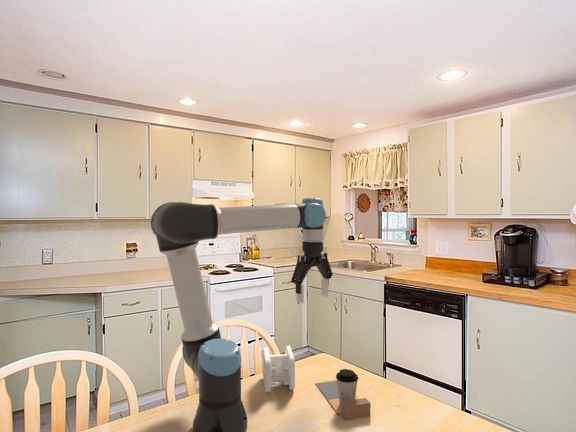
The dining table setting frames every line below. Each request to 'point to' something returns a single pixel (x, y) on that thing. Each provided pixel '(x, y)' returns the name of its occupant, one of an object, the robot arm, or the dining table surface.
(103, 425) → the dining table surface
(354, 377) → the coffee cup
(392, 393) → the dining table surface
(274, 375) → the cable organizer
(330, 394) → the runner
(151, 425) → the dining table surface
